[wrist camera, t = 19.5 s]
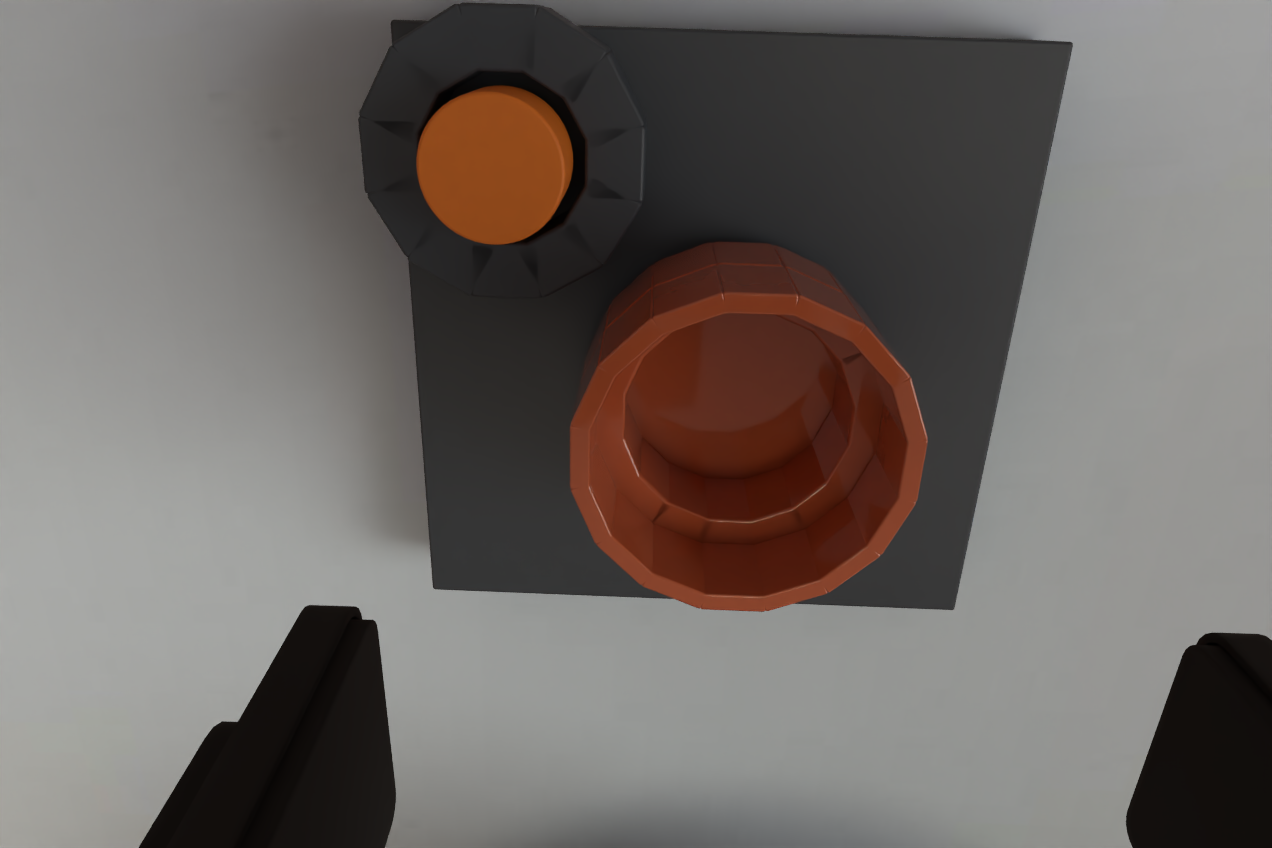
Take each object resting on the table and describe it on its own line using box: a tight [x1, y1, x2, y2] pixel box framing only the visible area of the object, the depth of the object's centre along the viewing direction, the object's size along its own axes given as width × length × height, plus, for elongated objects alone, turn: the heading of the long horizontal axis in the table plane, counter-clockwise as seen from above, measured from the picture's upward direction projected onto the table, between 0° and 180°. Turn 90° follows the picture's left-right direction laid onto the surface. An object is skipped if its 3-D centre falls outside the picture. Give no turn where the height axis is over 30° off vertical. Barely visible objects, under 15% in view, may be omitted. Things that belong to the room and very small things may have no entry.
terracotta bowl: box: [570, 242, 928, 612], centre depth 19 cm, size 7×7×5 cm
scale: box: [358, 2, 1073, 610], centre depth 21 cm, size 14×14×4 cm
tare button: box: [416, 85, 573, 245], centre depth 18 cm, size 3×3×2 cm
